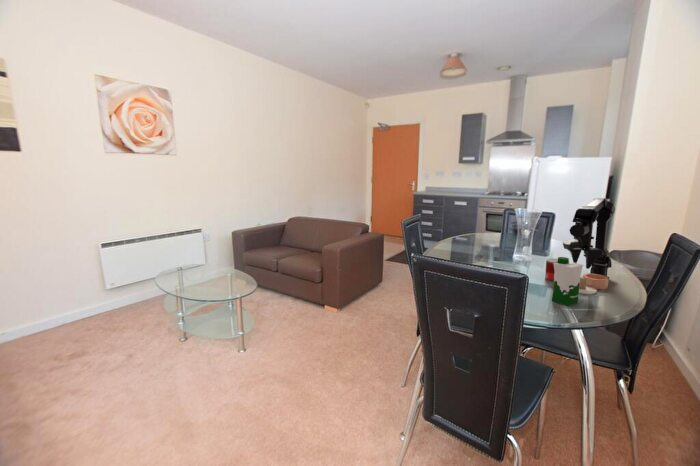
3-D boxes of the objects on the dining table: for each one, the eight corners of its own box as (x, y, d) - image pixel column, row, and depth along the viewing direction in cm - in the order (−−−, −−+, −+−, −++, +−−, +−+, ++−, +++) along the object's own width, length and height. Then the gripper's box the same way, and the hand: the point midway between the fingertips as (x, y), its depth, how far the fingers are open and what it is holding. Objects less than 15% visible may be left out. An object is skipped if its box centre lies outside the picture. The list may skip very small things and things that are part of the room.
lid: (585, 285, 154) (586, 274, 153) (602, 294, 143) (603, 282, 142) (563, 286, 154) (564, 275, 153) (577, 294, 144) (579, 282, 143)
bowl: (597, 282, 159) (598, 273, 158) (612, 289, 149) (613, 279, 148) (577, 282, 159) (578, 273, 158) (591, 290, 149) (592, 280, 149)
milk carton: (560, 297, 143) (564, 255, 139) (581, 304, 135) (586, 260, 131) (548, 300, 139) (551, 258, 136) (568, 308, 131) (573, 263, 128)
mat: (586, 285, 155) (586, 284, 155) (608, 296, 142) (608, 295, 141) (558, 286, 156) (558, 285, 156) (576, 296, 142) (576, 296, 142)
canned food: (557, 283, 160) (558, 263, 158) (541, 279, 167) (543, 259, 165) (565, 280, 163) (567, 260, 161) (550, 276, 170) (551, 257, 168)
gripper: (554, 231, 155) (552, 260, 158) (579, 238, 137) (576, 272, 139) (578, 230, 154) (575, 260, 157) (605, 237, 136) (602, 271, 138)
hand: (581, 265), depth 148 cm, fingers open, 9 cm apart
